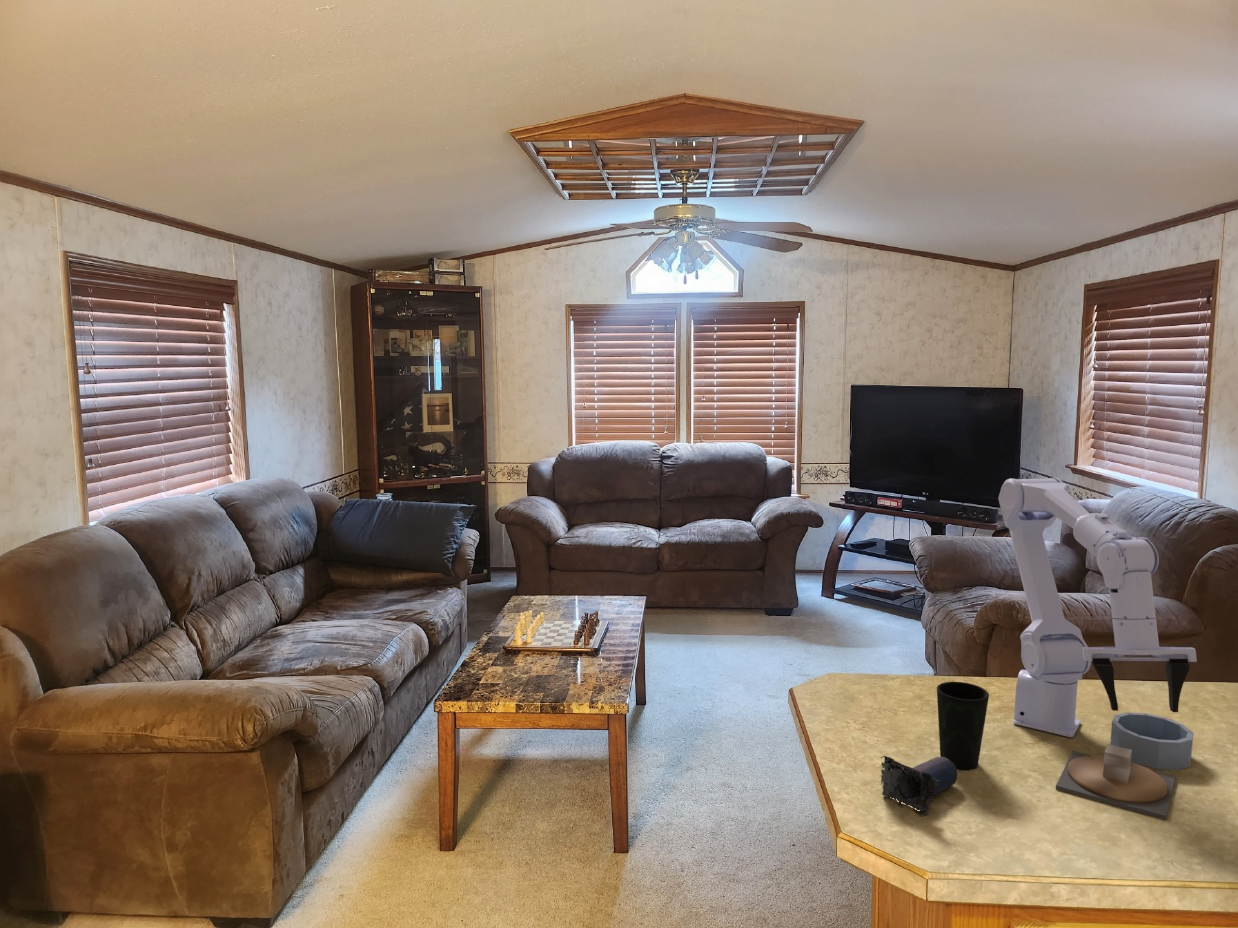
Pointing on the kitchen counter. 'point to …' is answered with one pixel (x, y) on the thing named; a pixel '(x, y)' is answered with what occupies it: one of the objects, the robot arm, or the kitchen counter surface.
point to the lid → (1117, 777)
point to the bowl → (1153, 740)
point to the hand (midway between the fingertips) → (1144, 710)
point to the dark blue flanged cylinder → (917, 781)
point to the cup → (961, 722)
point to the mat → (1151, 809)
